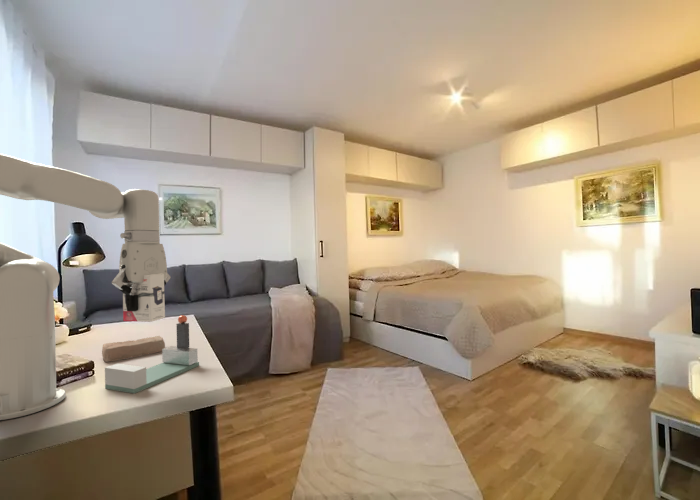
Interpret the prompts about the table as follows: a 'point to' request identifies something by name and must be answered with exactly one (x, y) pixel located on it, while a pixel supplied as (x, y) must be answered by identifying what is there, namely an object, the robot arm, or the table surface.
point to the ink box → (148, 300)
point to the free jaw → (181, 346)
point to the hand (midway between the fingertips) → (144, 308)
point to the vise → (141, 375)
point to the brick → (132, 348)
